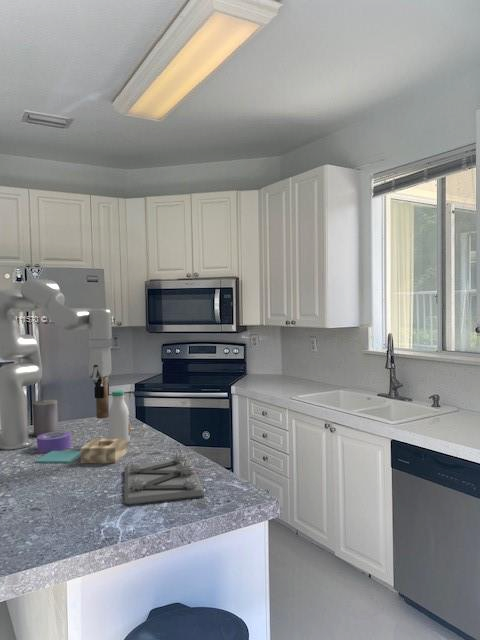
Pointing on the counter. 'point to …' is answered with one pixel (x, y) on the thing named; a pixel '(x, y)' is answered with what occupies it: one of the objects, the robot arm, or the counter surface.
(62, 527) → the counter surface
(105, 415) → the walnut peg
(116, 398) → the milk bottle
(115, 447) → the eye block
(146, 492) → the decorative plate
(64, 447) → the tape roll
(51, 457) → the teal mat
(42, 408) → the pillar candle
